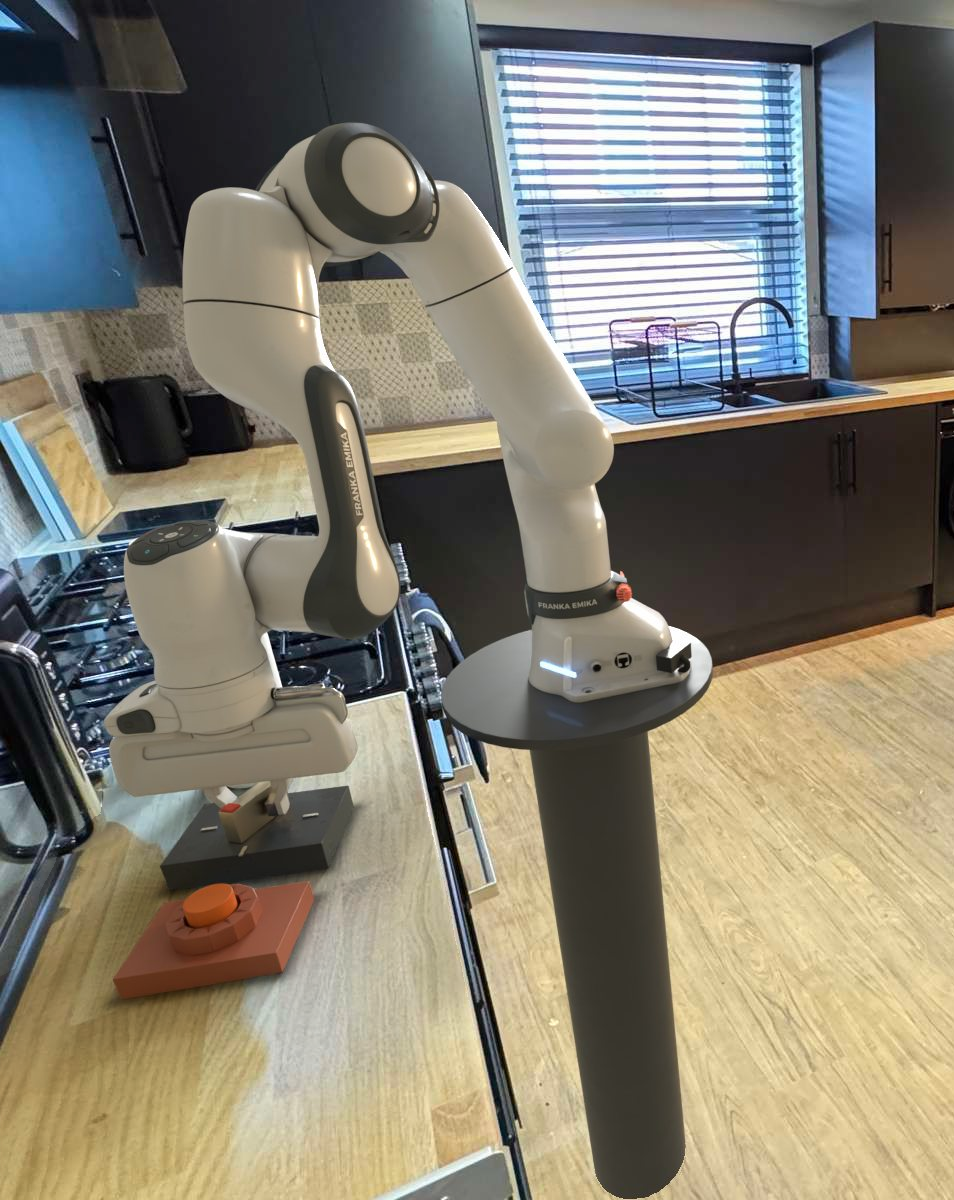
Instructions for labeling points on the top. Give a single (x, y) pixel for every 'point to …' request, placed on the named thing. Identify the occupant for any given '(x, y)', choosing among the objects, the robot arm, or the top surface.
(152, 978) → the button block
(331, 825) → the control panel
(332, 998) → the top surface
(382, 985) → the top surface
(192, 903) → the button
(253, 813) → the beige rectangular block
